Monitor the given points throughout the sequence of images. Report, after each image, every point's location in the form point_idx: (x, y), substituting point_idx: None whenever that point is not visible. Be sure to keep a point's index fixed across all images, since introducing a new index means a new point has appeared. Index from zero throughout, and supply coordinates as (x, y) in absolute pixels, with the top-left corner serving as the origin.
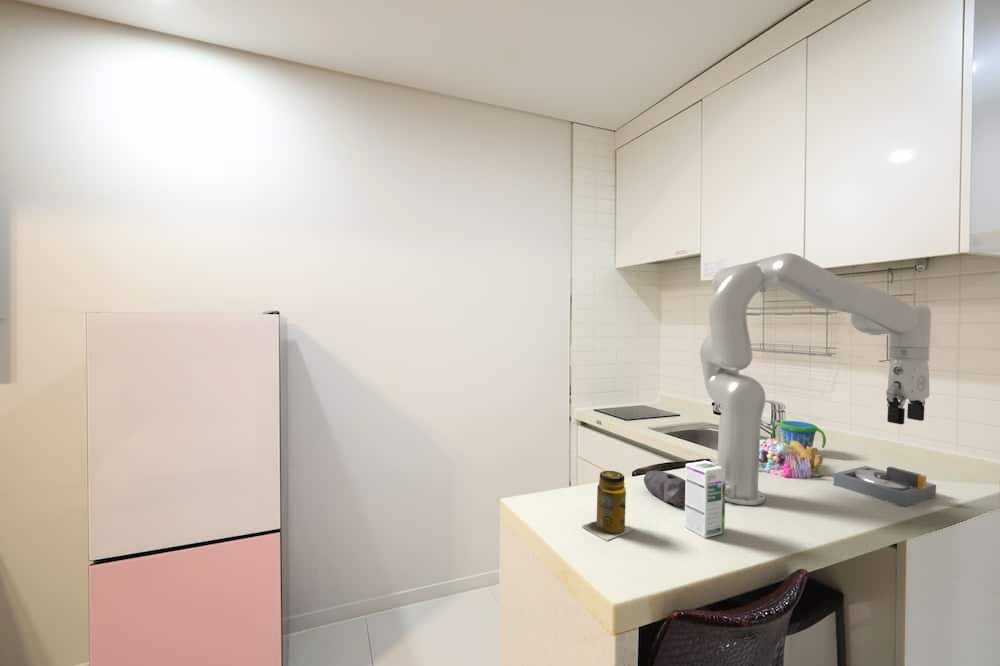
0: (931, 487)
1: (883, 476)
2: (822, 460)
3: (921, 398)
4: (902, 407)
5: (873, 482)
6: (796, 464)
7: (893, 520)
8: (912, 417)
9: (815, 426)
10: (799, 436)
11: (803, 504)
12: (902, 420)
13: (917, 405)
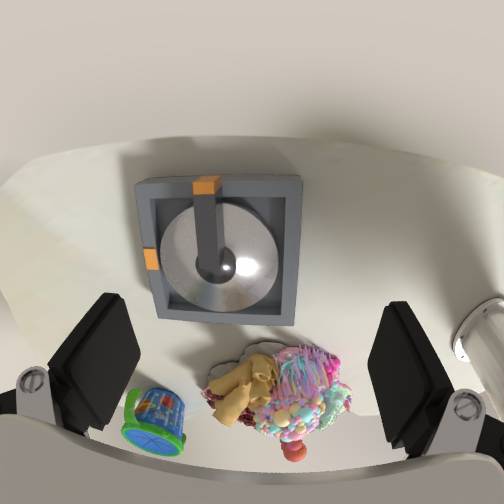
0: (158, 182)
1: (234, 259)
2: (256, 366)
3: (186, 482)
4: (453, 398)
5: (277, 258)
6: (321, 374)
7: (409, 157)
8: (131, 342)
9: (130, 428)
10: (172, 425)
11: (455, 274)
12: (412, 319)
13: (82, 391)
